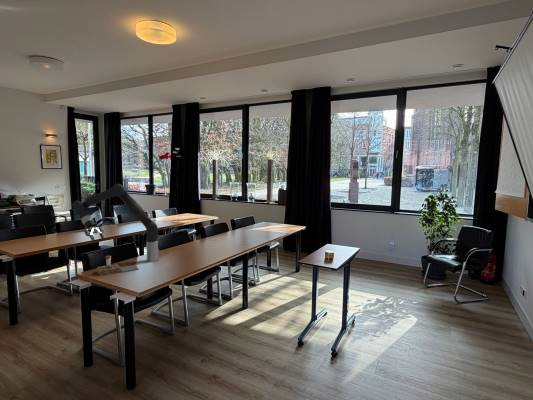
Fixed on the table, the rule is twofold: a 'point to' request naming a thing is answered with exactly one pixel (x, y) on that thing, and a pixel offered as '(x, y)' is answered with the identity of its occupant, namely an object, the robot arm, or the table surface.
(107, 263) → the wheel peg
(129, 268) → the mat
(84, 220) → the robot arm
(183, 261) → the table surface
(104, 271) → the eye block
